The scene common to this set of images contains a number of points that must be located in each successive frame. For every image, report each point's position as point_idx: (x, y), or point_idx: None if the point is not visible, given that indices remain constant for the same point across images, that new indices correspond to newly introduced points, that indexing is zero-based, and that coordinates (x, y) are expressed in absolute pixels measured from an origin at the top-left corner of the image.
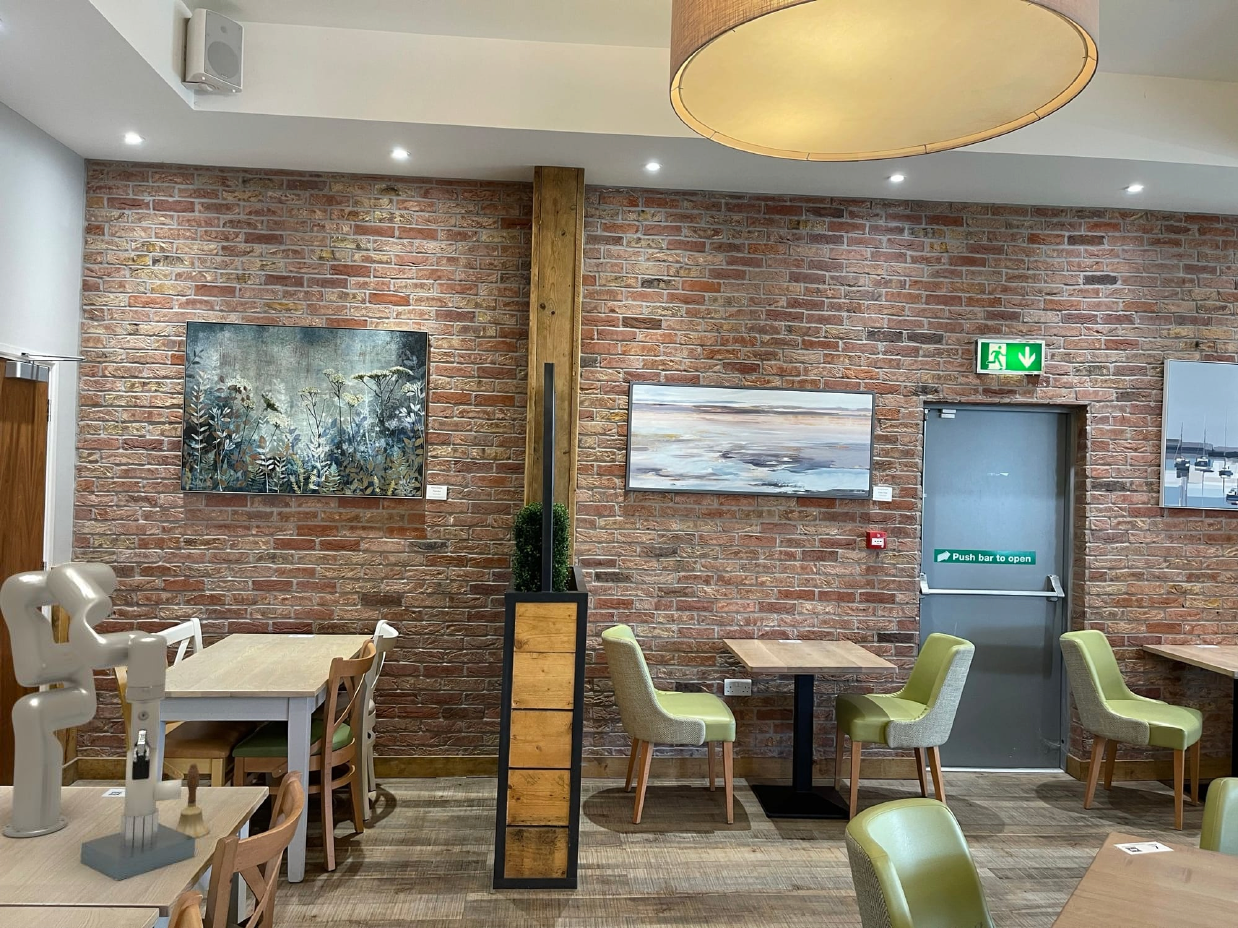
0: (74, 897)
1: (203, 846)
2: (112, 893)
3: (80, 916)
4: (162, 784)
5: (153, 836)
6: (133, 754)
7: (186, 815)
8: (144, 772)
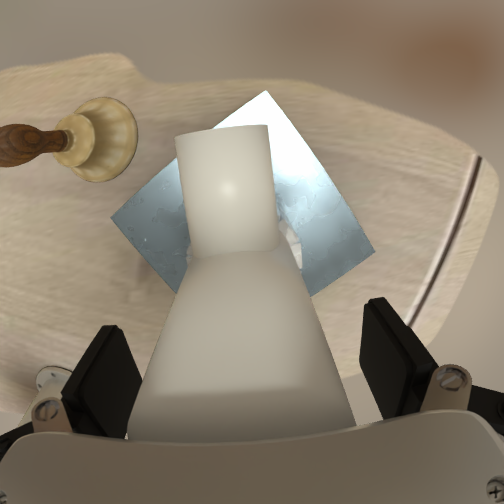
0: (402, 292)
1: (196, 87)
2: (412, 236)
3: (468, 263)
4: (256, 218)
5: None
6: None
7: (95, 145)
8: (413, 332)
